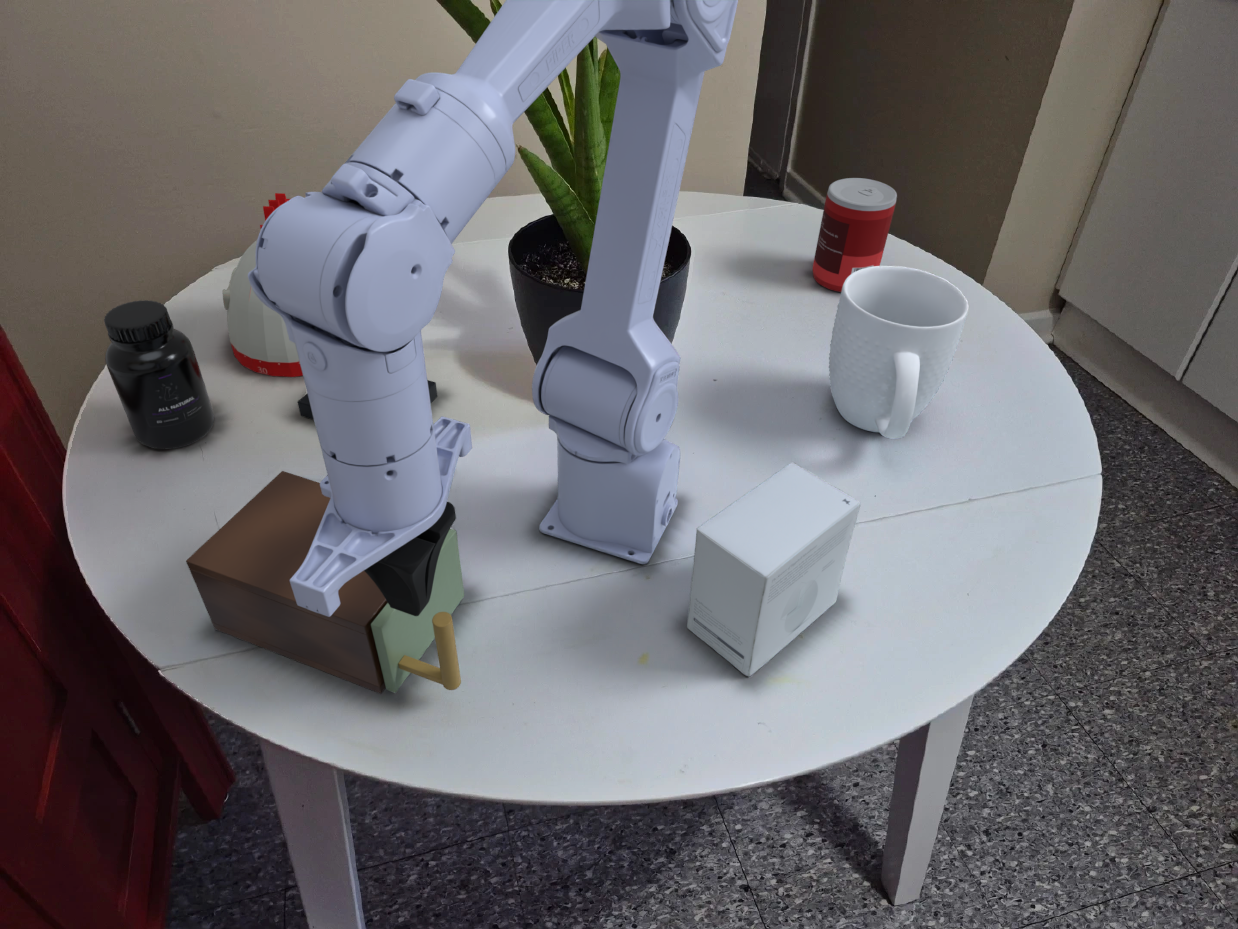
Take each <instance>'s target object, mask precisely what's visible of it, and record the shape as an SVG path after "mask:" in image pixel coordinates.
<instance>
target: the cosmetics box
mask: <svg viewBox="0 0 1238 929" xmlns="http://www.w3.org/2000/svg"><path fill="white" fill-rule="evenodd" d="M861 505H862V504H861V500H858V499H856V498H855V497H853V496H852V495H850V494H848V493H846V492H845V491H843V490H841V489H840V488H838V487H837V486H835V485H833V484H832V483H830V482H828V481H826V480H824V479H822V478H821V477H819V475H818V476H817V475H816V474H814V473H813V472H811V471H809V470H808V469H806V468H804V467H802V466H801V465H799V464H797V463H795V462H792V461H791V462H790V463H788V464H787V465H786V466H784V467H783V468H781V469H780V470H778V471H777V472H775V473H774V474H772V475H771V476H769V477H768V478H767V479H765V480H764V481H763V482H761V483H759V484H758V485H757V486H755V487H754V488H751V490H749V491H748V492H747V493H745V494H743V495H742V496H741V497H739V498H738V499H736V500H735V501H734V502H732V503H731V504H729V505H728V506H727V507H725V508H724V509H722V510H720V511H719V512H717V513H716V514H715V515H713V516H712V517H711V518H709V519H708V520H707V521H705V522H704V523H702V524H701V525H699V526H698V527H696V533H695V544H694V554H693V563H692V575H691V582H690V583H691V584H690V593H689V602H688V611H687V612H688V613H687V620H686V621H687V622H686V629H688V630H689V631H690V632H692V633H693V634H694V635H695V636H696V637H697V638H699V639H700V640H701V641H703V642H704V643H705V644H707V645H708V646H709V647H710V648H712V649H713V650H714V651H715V652H716V653H717V654H718V655H720V656H721V657H723V659H725V660H726V661H727V662H728V663H730V664H731V665H732V666H733V667H735V668H736V669H737V670H738V671H739V672H741V674H743V675H744V676H746V677H749V678H750V677H752V676H753V675H754V674H755V673H756V672H757V671H758V670H759V669H761V668H762V667H763V666H764V665H766V664H767V663H768V662H769V661H770V660H771V659H773V658H774V657H775V656H776V655H777V654H778V653H780V652H781V651H782V650H783V649H784V648H785V647H786V646H788V645H789V644H790V643H791V642H792V641H793V640H794V639H796V638H797V637H799V635H800V634H801V633H803V631H805V630H806V629H807V628H809V627H810V626H811V625H812V624H814V622H816V620H817V619H818V618H820V617H821V616H822V615H823V614H824V613H825V612H827V610H829V608H831V607H832V606H834V605H835V603H837V599H838V596H839V591H840V585H841V582H842V577H843V573H844V568H845V564H846V561H847V556H848V553H849V548H850V545H851V541H852V538H853V534H854V530H855V526H856V523H857V520H858V516H859V513H860V509H861Z"/></svg>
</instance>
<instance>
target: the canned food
mask: <svg viewBox="0 0 1238 929" xmlns="http://www.w3.org/2000/svg"><path fill="white" fill-rule="evenodd" d="M897 198H898V193H897V191H896V190H895V189H894V188H893V187H892V186H890V185H888V184H886V183H884V182H881V181H878V180H876V179H875V180H874V179H870V178H861V177H849V178H848V177H847V178H842V179H838V180H835V181H833V182H831V184H829V186H828V190H827V192H826V196H825V201H824V205H823V211H822V217H821V222H820V227H819V231H818V235H817V236H818V237H817V242H816V247H815V252H814V256H813V257H814V258H813V263H812V277H813V279H814V280H815V282H816V283H817V284H818V285H820V286H821V287H823V288H825V289H827V290H830V291H834V292H838V293H841V291H842V287H843V284H844V282H845V280H846V279H847V277H848V276H850V275H851V274H852V273H854V272H856V271H858V270H860V269H864V268H867V267H873V266H881V263H882V259H883V255H884V251H885V247H886V245H887V244H886V243H887V239H888V236H889V232H890V228H891V224H892V221H893V216H894V212H895V208H896V204H897Z"/></svg>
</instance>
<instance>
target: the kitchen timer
mask: <svg viewBox="0 0 1238 929" xmlns="http://www.w3.org/2000/svg"><path fill="white" fill-rule="evenodd" d="M274 193H275V194H274V198H275V199H268V200H267V201H268V202H267V203H268V205H263V206H262V211H263V215H264V222H265V221H266V220H267V218H268V217H269V216H270V215H271V213H272V212H273V211H274V210H275V209H277V208H278V207H279V206H281V205H282V204H284V203H286V202H287V201H289V200H290V199H291V198H287V195H286V193H283V192H282V193H279V192H274ZM262 226H263V224H259V228H260V229H261V228H262ZM256 243H257V239H256V240H255V241H253V242H252V244H250V245H249V247H247V249H245V251H244V252H243V254H242V255H241V257H240V259H239V261H238V263H237V265H236V267H235V268H234V269H233V270H232V272H231V276H230V280H229V283H228V287H227V288H226V289H222V291H221V292H222V301H223V303H222V304H223V307H224V309H225V310H226V312H227V313H226V324H227V331H228V336H229V342H230V346H231V349H232V352H233V355H234V358H235V359H236V360H237V361H238V362H239V363H240V365H241V366H243V367H245V368H246V369H249V370H250V371H252V372H254V373H257V374H262V375H267V376H269V377H285V378H286V377H288V378H295V377H303V373H302V369H301V365H300V361H299V357H298V353H297V349H296V345H295V343H294V342H292V341H290V340H289V336H288V332H287V328H286V325H285V322H284V320H283V318H282V317H281V316H280V315H279V314H278V313H277V312H276V311H274V310H272V309H270V308H269V307H267V306H266V305H265V304H264V303H263V302H262V301H261V300H260V299H259V298H258V297H257V296H256V294H255V292H254V291H253V289H252V287H251V285H250V282H249V279H248V273H249V272H250V271H252V270H253V269H254V268H255V266H256V260H255V251H256Z"/></svg>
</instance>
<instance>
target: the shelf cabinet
mask: <svg viewBox="0 0 1238 929" xmlns="http://www.w3.org/2000/svg"><path fill="white" fill-rule="evenodd" d="M330 499H331V498H329V497H326V496H324V495H323V494H322V491H321V487H320V482H319V481H316V480H313V479H309V478H306V477H304V476H300V475H297V474H294V473H292V472H291V473H290V472H288V471H285V470H281V471H280V472H279V473H278V474H277V475H276V476H275V477H273V479H272V480H271V481H269V483H268V484H266V485H265V486H264V487H263V488H262V489H261V490H260V491H258V493H257V494H256V495H254V496H253V497H252V499H250V500H249V501H248V502H247V503H246V504H245V505H244V506H243V507H241V508H240V510H238V511H237V512H236V513H235V514H234V515H233V516H232V517H231V518H230V519H229V520H228V521H226V523H224V524H223V525H222V526H221V527H220V528H219V529H218V530H217V531H216V532H215V533H214V534H212V536H211V537H209V538H208V539H207V540H206V541H205V542H204V543H203V544H202V545H201V546H200V547H199V548H197V549H196V550H195V551H194V552H193V553H192V554H191V555H190V556H189V557H188V558H187V559H185V562H186V565H187V568H188V570H189V572H190V575H191V577H192V579H193V582H194V584H195V586H196V588H197V591H198V593H199V596H200V598H201V600H202V603H203V606H204V607H205V609H206V612H207V614H208V617H209V619H210V622H211V624H212V626H213V628H214V630H216V631H219V632H222V633H224V634H227V635H229V636H231V637H234V638H236V639H239V640H241V641H244V642H247V643H250V644H252V645H254V646H257V647H259V648H261V649H265V650H267V651H270V652H272V653H275V654H278V655H280V656H283V657H285V658H288V659H291V660H292V661H296V662H299V663H300V664H303V665H306V666H308V667H311V668H313V669H316V670H319V671H322V672H323V673H326V674H329V675H331V676H334V677H337V678H339V679H342V680H344V681H347V682H349V683H352V684H355V685H357V686H359V687H362V688H365V689H368V690H370V691H373V692H375V693H377V694H380V695H382V693H384V691H385V690H386V686H385V682H384V678H383V674H382V669H381V665H380V661H379V657H378V653H377V649H376V644H375V640H374V636H373V632H372V628H371V623H372V622H373V621H374V620H375V618H376V617H377V616H378V614H379V613H380V612H381V611H382V609H383V608H384V607H385V606H386V604H387V603H388V602H387V600H386V599H385V597H384V596H383V594H382V592H381V591H380V589H379V588H378V587H377V585H376V584H375V583H374V581H373V580H372V579H371V578H370V577H369V575H368V574H367V573H366V572H365V571H362V572H361V573H359V574H358V575H356V576H354V577H353V578H352V579H350V580H349V581H347V582H346V583H344V585H343V586H342V587H341V588H340V589H339V590H338V595H339V599H340V603H341V604H340V606H339V607H338V608H337V609H336V610H335V612H334V613H333V614H332V615H331V616H330V617H328V616H325V615H322V614H320V613H316V612H313V611H311V610H308V609H306V608H303V607H301V606H298V605H297V603H296V599H295V596H294V593H293V590H292V587H291V584H290V579H291V578H292V577H293V575H294V574H295V573H296V572H297V571H298V569H299V568H300V567H301V565H302V563H303V562H304V560H305V558H306V556H307V554H308V552H309V549H310V547H311V545H312V542H313V540H314V537H315V535H316V532H317V530H318V528H319V525H320V523H321V520H322V518H323V515H324V513H325V511H326V508H327V506H328V503H329V501H330Z"/></svg>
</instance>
